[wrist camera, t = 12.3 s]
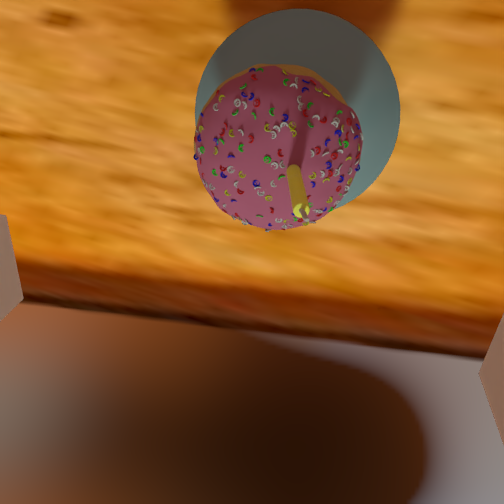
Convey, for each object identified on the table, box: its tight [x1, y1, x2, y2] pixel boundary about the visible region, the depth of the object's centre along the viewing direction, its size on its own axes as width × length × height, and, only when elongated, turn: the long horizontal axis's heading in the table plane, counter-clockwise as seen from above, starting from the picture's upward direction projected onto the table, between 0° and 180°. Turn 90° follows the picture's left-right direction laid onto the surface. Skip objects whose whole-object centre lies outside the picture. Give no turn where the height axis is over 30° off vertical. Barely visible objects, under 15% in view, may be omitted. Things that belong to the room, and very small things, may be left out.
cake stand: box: [195, 8, 400, 210], centre depth 31 cm, size 12×12×8 cm
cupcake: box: [194, 64, 363, 232], centre depth 23 cm, size 9×8×12 cm
